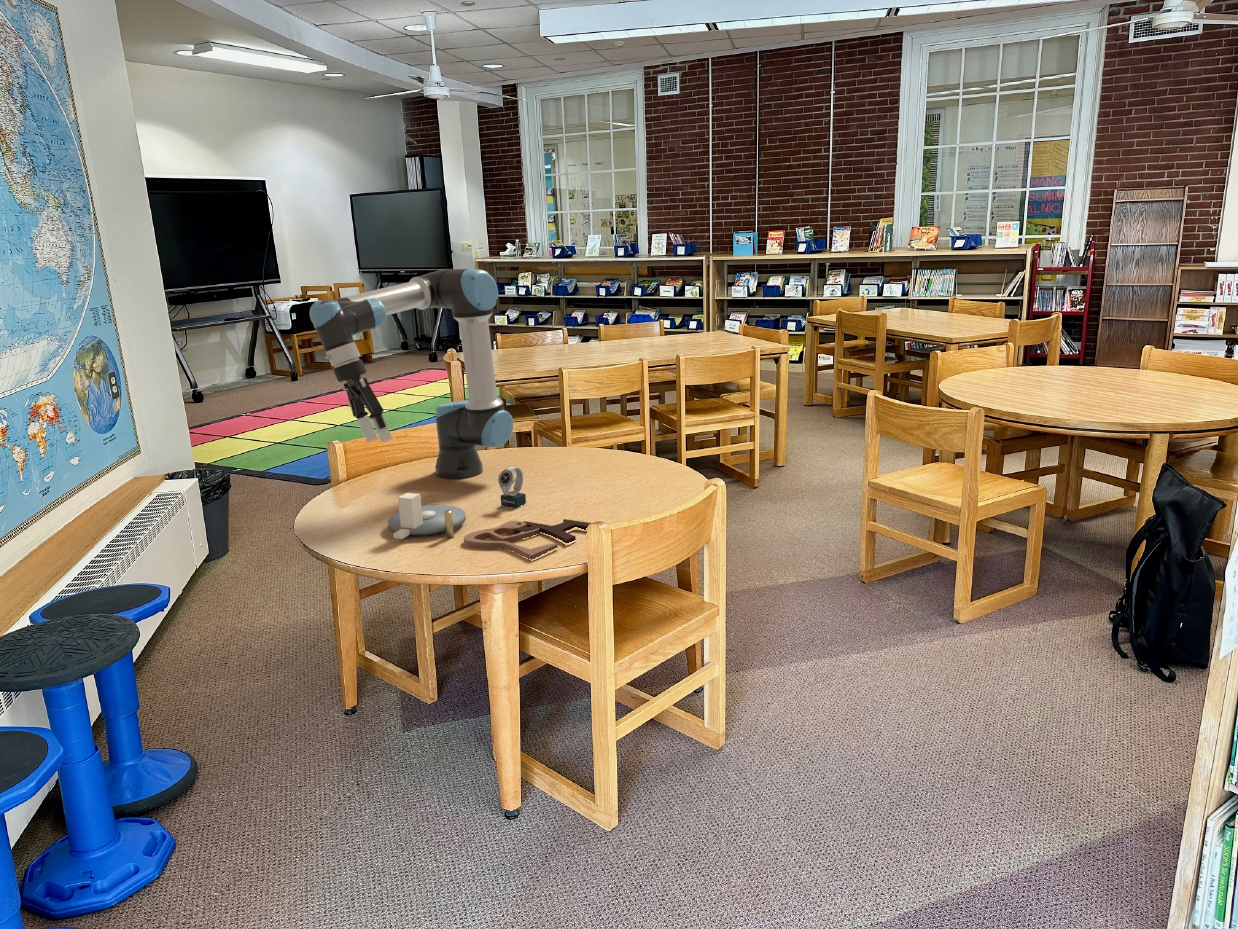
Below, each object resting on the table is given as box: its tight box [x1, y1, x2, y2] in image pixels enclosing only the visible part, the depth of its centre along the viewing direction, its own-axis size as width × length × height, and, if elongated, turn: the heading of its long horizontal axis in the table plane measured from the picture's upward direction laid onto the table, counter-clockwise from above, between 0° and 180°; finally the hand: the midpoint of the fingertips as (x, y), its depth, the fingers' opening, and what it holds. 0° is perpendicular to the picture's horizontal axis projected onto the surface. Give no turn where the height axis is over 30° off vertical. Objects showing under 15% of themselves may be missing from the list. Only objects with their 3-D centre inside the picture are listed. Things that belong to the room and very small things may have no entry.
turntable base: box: [407, 526, 458, 538], centre depth 222 cm, size 16×16×1 cm
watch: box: [497, 466, 527, 509], centre depth 236 cm, size 6×8×11 cm
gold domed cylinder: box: [444, 510, 455, 540], centre depth 213 cm, size 2×2×7 cm
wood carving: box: [463, 518, 592, 560], centre depth 212 cm, size 28×2×24 cm
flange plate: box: [387, 492, 467, 540], centre depth 219 cm, size 24×20×9 cm
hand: (379, 440), depth 217 cm, fingers open, 13 cm apart
